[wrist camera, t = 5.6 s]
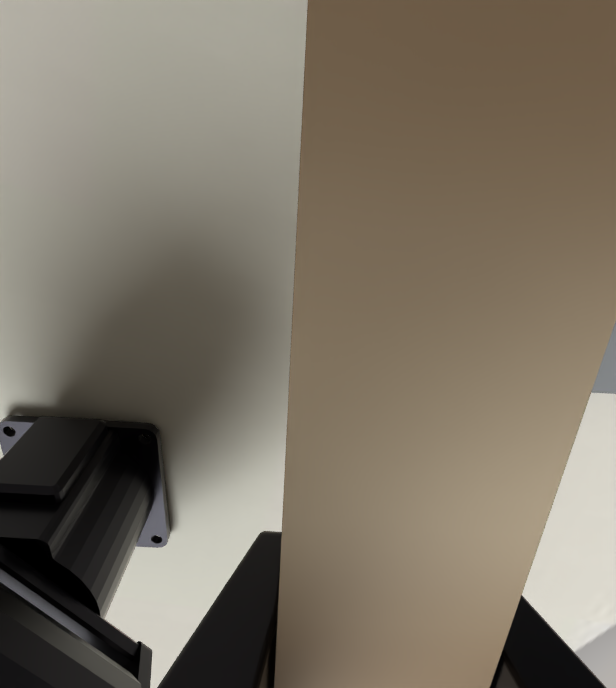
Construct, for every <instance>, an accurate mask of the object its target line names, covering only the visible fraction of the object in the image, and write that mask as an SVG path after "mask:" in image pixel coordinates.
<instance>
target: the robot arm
mask: <svg viewBox="0 0 616 688" xmlns="http://www.w3.org/2000/svg"><path fill="white" fill-rule="evenodd" d="M10 427H12V428H13V429H14V430H15V431H14V430H12V429H10ZM142 434H147V435H149V436H150V438H145V437H144V436H143V435H142ZM0 444H1V448H2V451H3V455H4V456H3V457H2V458H1V459H0V688H150V679H151V663H152V650H151V649H150V648H149V647H147V646H146V645H145V644H143V643H142V642H140V641H139V642H135V641H134V640H132V639H131V638H130V637H128V636H127V635H126V634H124V633H123V632H121V631H120V630H119V629H117V628H116V627H115V626H113V625H112V624H110V623H109V622H108V621H106V620H105V619H104V618H105V616H106V614H107V611H108V609H109V607H110V604H111V602H112V600H113V598H114V595H115V593H116V591H117V588H118V586H119V584H120V581H121V579H122V577H123V574H124V572H125V570H126V567H127V565H128V563H129V560H130V558H131V556H132V553H133V551H134V549H135V546H140V547H157V548H158V547H163V546H165V545H166V544H167V542H168V539H169V536H170V527H169V517H168V507H167V497H166V487H165V477H164V467H163V457H162V447H161V437H160V432H159V430H158V428H157V427H156V426H154V425H152V424H149V423H137V422H119V421H102V420H99V419H82V418H63V417H45V416H42V417H27V416H7V417H6V418H4V419H3V420H2V421H1V422H0ZM156 535H157V536H156ZM159 536H160V537H159ZM281 539H282V532H272V531H263V532H261V533H260V534H259V535H258V537H257V538H256V540H255V541H254V543H253V544H252V546H251V547H250V549H249V550H248V552H247V553H246V555H245V556H244V558H243V559H242V561H241V562H240V564H239V565H238V567H237V568H236V570H235V571H234V573H233V574H232V576H231V577H230V579H229V580H228V582H227V583H226V585H225V586H224V588H223V590H222V591H221V593H220V594H219V596H218V597H217V599H216V600H215V602H214V603H213V605H212V606H211V608H210V609H209V611H208V612H207V614H206V615H205V617H204V618H203V620H202V621H201V623H200V624H199V626H198V627H197V629H196V630H195V632H194V633H193V635H192V636H191V638H190V639H189V641H188V642H187V644H186V645H185V647H184V648H183V650H182V651H181V653H180V654H179V656H178V657H177V659H176V660H175V662H174V663H173V665H172V666H171V668H170V669H169V671H168V672H167V674H166V675H165V677H164V678H163V680H162V681H161V683H160V684H159V686H158V687H157V688H274V681H275V661H276V640H277V620H278V600H279V579H280V559H281ZM490 688H606V687H605V686H604V685H603V683H602V682H601V681H600V680H599V679H598V678H597V677H596V676H595V675H594V674H593V672H592V671H591V670H590V669H589V668H588V667H587V666H586V665H585V664H584V663H583V662H582V660H581V659H580V658H579V657H578V656H577V655H576V654H575V653H574V652H573V651H572V649H571V648H570V647H569V646H568V645H567V644H566V643H565V642H564V641H563V640H562V639H561V637H560V636H559V635H558V634H557V633H556V632H555V631H554V630H553V629H552V628H551V627H550V625H549V624H548V623H547V622H546V621H545V620H544V619H543V618H542V617H541V616H540V615H539V613H538V612H537V611H536V610H535V609H534V608H533V607H532V606H531V605H530V604H529V602H528V601H527V600H526V599H525V598H524V597H523V596H522V595H521V598H520V601H519V604H518V607H517V609H516V612H515V615H514V618H513V621H512V624H511V627H510V630H509V633H508V636H507V639H506V641H505V644H504V647H503V650H502V653H501V656H500V659H499V662H498V665H497V668H496V671H495V673H494V676H493V679H492V682H491V685H490Z"/></svg>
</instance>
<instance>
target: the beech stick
mask: <svg viewBox="0 0 616 688" xmlns="http://www.w3.org/2000/svg"><path fill="white" fill-rule="evenodd" d="M615 321H616V0H308V10H307V30H306V50H305V71H304V91H303V111H302V132H301V152H300V172H299V193H298V213H297V233H296V254H295V274H294V294H293V315H292V335H291V355H290V376H289V396H288V416H287V437H286V457H285V478H284V498H283V518H282V539H281V559H280V579H279V600H278V620H277V640H276V661H275V681H274V688H490V685H491V682H492V679H493V676H494V673H495V671H496V668H497V665H498V662H499V659H500V656H501V653H502V650H503V647H504V644H505V641H506V639H507V636H508V633H509V630H510V627H511V624H512V621H513V618H514V615H515V612H516V609H517V607H518V604H519V601H520V598H521V595H522V592H523V589H524V586H525V583H526V580H527V577H528V575H529V572H530V569H531V566H532V563H533V560H534V557H535V554H536V551H537V548H538V545H539V543H540V540H541V537H542V534H543V531H544V528H545V525H546V522H547V519H548V516H549V513H550V511H551V508H552V505H553V502H554V499H555V496H556V493H557V490H558V487H559V484H560V481H561V478H562V476H563V473H564V470H565V467H566V464H567V461H568V458H569V455H570V452H571V449H572V446H573V444H574V441H575V438H576V435H577V432H578V429H579V426H580V423H581V420H582V417H583V414H584V412H585V409H586V406H587V403H588V400H589V397H590V394H591V391H592V388H593V385H594V382H595V380H596V377H597V374H598V371H599V368H600V365H601V362H602V359H603V356H604V353H605V350H606V348H607V345H608V342H609V339H610V336H611V333H612V330H613V327H614V324H615Z"/></svg>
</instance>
